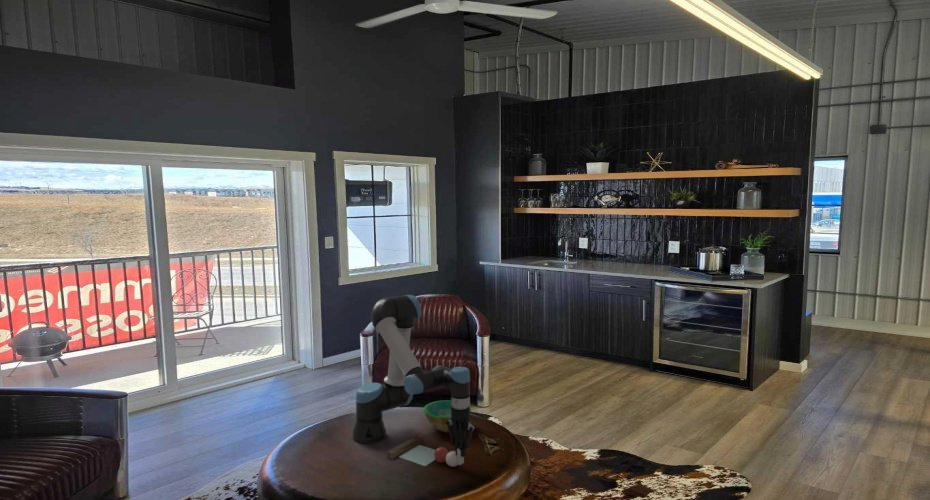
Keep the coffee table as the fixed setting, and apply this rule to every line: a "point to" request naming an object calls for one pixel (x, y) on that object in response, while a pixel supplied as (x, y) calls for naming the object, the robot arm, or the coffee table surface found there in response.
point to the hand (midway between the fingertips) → (460, 463)
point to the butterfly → (489, 447)
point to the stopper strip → (404, 447)
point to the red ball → (440, 454)
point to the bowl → (439, 414)
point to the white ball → (451, 459)
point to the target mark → (419, 455)
